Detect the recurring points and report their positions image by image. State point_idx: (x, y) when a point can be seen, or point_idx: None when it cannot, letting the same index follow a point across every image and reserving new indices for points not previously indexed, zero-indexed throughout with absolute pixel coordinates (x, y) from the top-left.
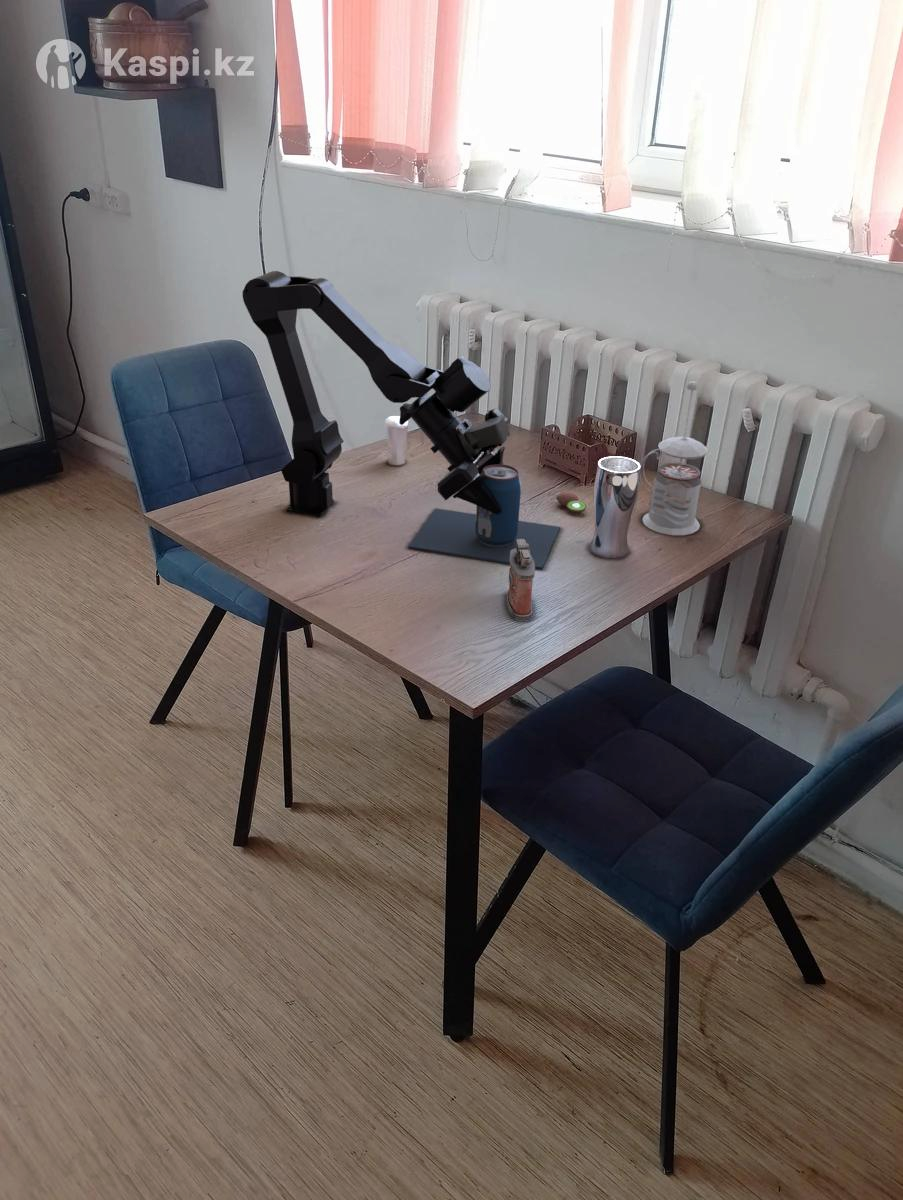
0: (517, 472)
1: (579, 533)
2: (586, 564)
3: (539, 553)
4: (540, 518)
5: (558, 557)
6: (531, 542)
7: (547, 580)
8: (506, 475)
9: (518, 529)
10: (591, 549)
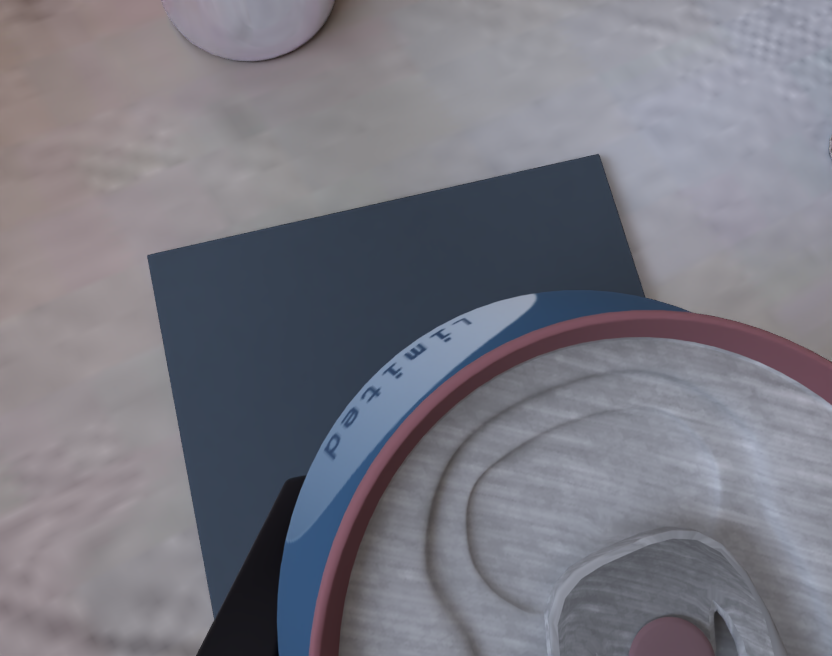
0: (485, 373)
1: (149, 157)
2: (433, 20)
3: (482, 220)
4: (76, 402)
5: (443, 145)
6: (398, 303)
7: (663, 103)
8: (610, 526)
9: (293, 432)
10: (307, 33)
